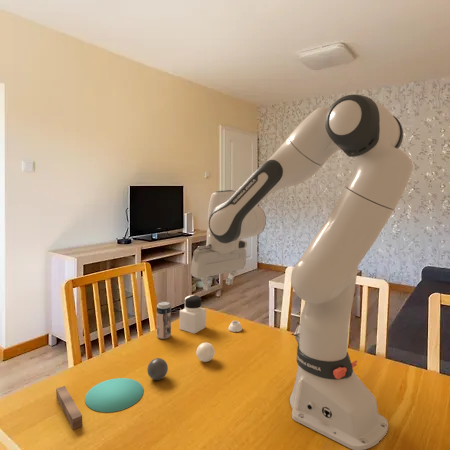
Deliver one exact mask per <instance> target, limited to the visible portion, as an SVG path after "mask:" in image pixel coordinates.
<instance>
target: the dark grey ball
mask: <svg viewBox="0 0 450 450" xmlns="http://www.w3.org/2000/svg"><path fill="white" fill-rule="evenodd" d="M168 370H169V367H168V364H167V362H166V361H165V360H164V359H163V358H160V357H158V358H157V357H156V358H153V359H152V360H151V361H149V363H148V365H147V374H148V376H149V378H151V379H152V380H154V381H159V380H162V379H164V378H165V377H166V375H167V374H168V372H169V371H168Z"/></svg>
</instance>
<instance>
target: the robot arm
mask: <svg viewBox="0 0 450 450" xmlns="http://www.w3.org/2000/svg"><path fill="white" fill-rule="evenodd" d="M403 139H404V129H403V126H402V124H401V122H400V120H399V119H398V118H397V117H396V116H395V115H393V114H392V113H391V112H390V111H389V109H387V108H386V106H384V105H382V104H380V103H379V102H376V101H374V100H373V99H372V98H371V97H368V96H365V95H363V94H348V95H343V96H342V97H340V98H338V99H337V100H336V101H334V103H333V104H332V105H331V106H330V107H326V106H320V107H318V108H316V109H315V110H313V111H312V112H311V113H310V114H309V115H308V116H307V117H305V118H304V119H303V120H302V121H301V122H300V123H299V124H298V125H297V127H295V128H294V130H293V131H292V132H291V133H290V135H289V136H288V137H287V138H286V139H285V140H284V142H283V143H282V144H281V145H280V146H279V147H278V149H276V150H275V152H274V153H273V154H272V155H271V156H270V157H269V158H267V160H266V161H264V163H263V164H261V166H259V167H258V168H257V169H256V170H255V171H254V172H253V173H252V174H251V175H250V176H249V177H248V178H247V179H246V181H244V183H243V184H242V185H240V187H239V188H238V189H237V190H233V189H226V190H225V189H224V190H217V191H214V192H213V193H211V196H210V199H209V202H208V208H207V223H208V227H207V230H206V243H205V245H199V246H196V247H197V248H196V249H195V250H194V251H193V255H192V261H191V264H190V265H191V266H190V274H191V276H192V277H193V278H195V279H198V280H199V279H200V281H201V282H202V284H203V286H202V288H203V291H210V290H211V286H212V284H210V283H209V279H210V277H214V276H217V275H221V274H226V273H228V276H227V277H226V278H225V284H226V285H228V286H229V285H230V286H231V285H233V284H234V278H235V276H236V274H237V271H240V270H244V268H245V266H246V263H247V249H246V248H247V245H248V242H247V241H246V240H243V239H247V238H253V237H256V236H258V235H260V234H261V233H263V231H264V230H265V228H266V225H267V217H266V214H265V211H264V209H263V208H262V207H260V206H259V205H260V203H261V202H263V200H265V198H267V197H268V196H270V195H271V194H272V193H274V192H276V191H279V190H283V189H285V188H288V187H292V186H296V185H300V184H303V183H305V182H306V181H308V180H309V179H310V178H311V177H312V176H314V175H315V174H317V172H318V171H319V170H320V169H321V168H322V167H323V166H324V165H325V164H326V162H327V161H328V160H329V159H330V157H332V156H333V155H334V154H335V153H336V152H338V151H340V150H341V151H342V152H343V153H344V154H346V156H347V157H349V158H354V162H355V165H354V169H353V171H352V174H351V175H350V178H349V179H348V180H347V183H346V185H345V186H344V188H343V190H342V192H341V194H340V196H339V197H338V199H337V202H336V203H335V205H334V206H333V208H332V210H331V212H330V214H329V216H328V217H327V219H326V221H325V222H324V223H323V224H322V226H321V227H320V229H319V230H318V231H317V232H316V234H315V236H314V237H313V239H312V240H311V241H310V243H309V245H308V246H307V248H306V249H305V250H304V253H303V254H302V256H301V257H300V258H299V260H298V261H297V263H296V264H295V265H294V267H293V269H292V271H291V274H290V284H291V286H292V289H293V291H294V293H295V295H296V296H298V297H299V298H300V299H301V300H303V301H304V304H303V309H302V311H301V314H300V319H299V320H300V322H299V324H300V340H299V345H298V344H297V349H296V364H297V369H296V374H295V381H294V386H293V389H292V392H291V394H290V398H289V404H290V406H291V411H292V412H291V418H292V420H293V421H295V422H296V423H299V424H301V425H303V426H305V427H307V428H309V429H311V430H313V431H315V432H316V433H318V434H321V435H323V436H324V437H327V438H328V439H330V440H333V441H335V443H339V444H341V445H342V446H344V447H347V448H348V449H350V450H367V449H368V450H369V449H370V448H373V447H374V446H376V445H378V444H379V443H380V442H381V441H382V440H383V439H384V438H385V437H386V436H385V435H387V434H386V433H388V432H387V431H389V422H388V419H387V418H386V417H385V416H383V415H382V414H380V413H379V411H378V410H379V409H378V408H379V407H378V403H377V398H376V396H375V395H374V394H373V393H372V392H371V390H369V388H368V387H367V386H366V385H365V383H364V382H363V381H362V380H361V379H360V378H359V376H358V375H357V374H356V373H355V372H354V368H355V367H356V366H358V364H357V363H358V360H356V359H355V361H352V360H351V358H350V355H349V351H348V342H349V341H348V340H349V330H350V329H349V326H350V318H351V314H352V313H351V312H352V307H353V303H354V302H353V301H354V297H355V290H356V282H357V276H358V275H357V274H358V269H359V265H360V263H361V262H362V260H363V259H364V258H365V256H366V255H367V253H369V250H370V249H371V248H372V247H373V245H374V244H375V242H376V240H377V239H378V237H379V235H380V234H381V233H382V230H383V229H384V227H385V225H386V224H387V222H388V220H389V219H390V217H391V216H392V215H393V212H394V211H395V209H396V207H397V206H398V204H399V202H400V200H401V198H402V196H403V194H404V193H405V190H406V189H407V188H406V187H407V185H408V183H409V180H410V177H411V175H412V172H413V170H414V169H413V168H414V166H413V162H412V159H411V157H409V155H408V154H407V153H406V152H404V151H403V150H401V149H400V147H401V145H402V143H403V141H404V140H403ZM384 436H385V437H384ZM383 437H384V438H383ZM382 438H383V439H382ZM381 439H382V440H381ZM380 440H381V441H380ZM379 441H380V442H379Z"/></svg>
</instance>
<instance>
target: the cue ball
mask: <svg viewBox="0 0 450 450" xmlns="http://www.w3.org/2000/svg"><path fill="white" fill-rule="evenodd" d="M215 353H216V351H215V348H214V346H213V345H212V344H211V343H209V342H201V343H200V344H199V345H198V346H197V348H196V353H195V354H196V357H197V358H198V360H199V361H201V362H203V363H207V362H210V361H211V360H213V358H214V357H215Z"/></svg>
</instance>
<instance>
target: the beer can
mask: <svg viewBox="0 0 450 450" xmlns="http://www.w3.org/2000/svg"><path fill="white" fill-rule="evenodd" d="M171 335H172V305H171V303H170V302H169V301H160V302H158V303H157V305H156V337H157V338H159V339H161V340H166V339H168V338H170V337H172V336H171Z"/></svg>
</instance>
